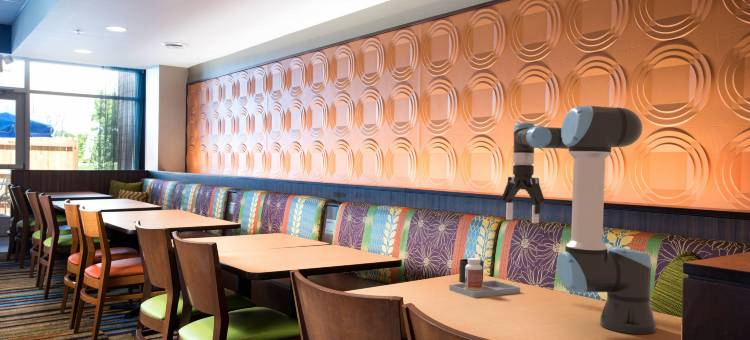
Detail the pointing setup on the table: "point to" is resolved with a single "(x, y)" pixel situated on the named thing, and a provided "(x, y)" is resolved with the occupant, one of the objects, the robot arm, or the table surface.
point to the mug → (462, 270)
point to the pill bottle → (473, 274)
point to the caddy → (486, 289)
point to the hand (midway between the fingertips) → (521, 221)
